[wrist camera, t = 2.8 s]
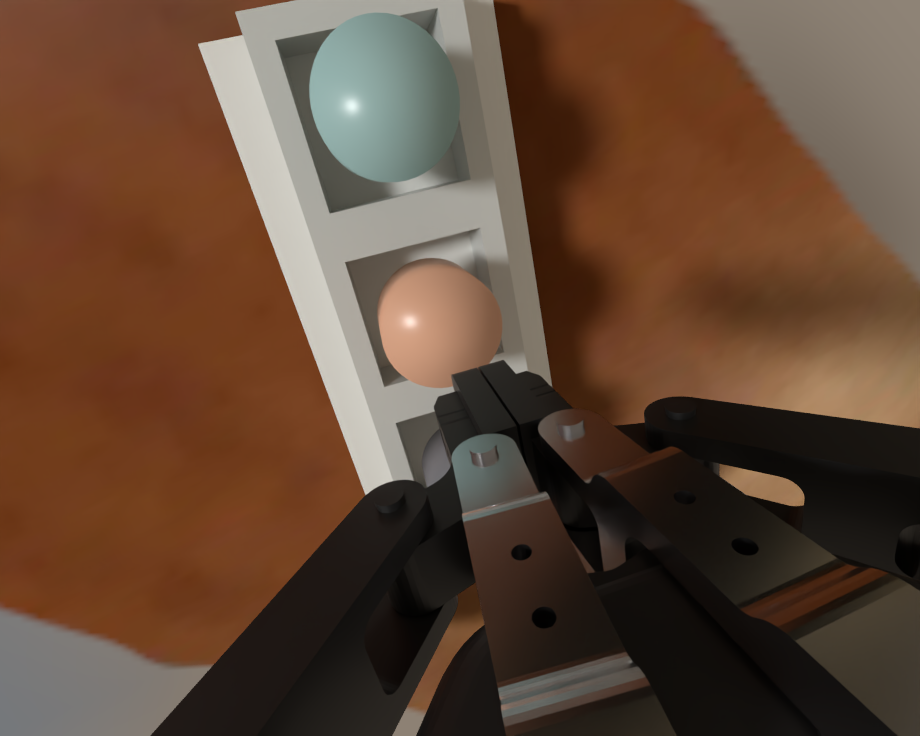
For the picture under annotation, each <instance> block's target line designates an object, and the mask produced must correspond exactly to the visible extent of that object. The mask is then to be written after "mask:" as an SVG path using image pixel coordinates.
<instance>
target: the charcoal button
mask: <svg viewBox="0 0 920 736" xmlns="http://www.w3.org/2000/svg"><path fill="white" fill-rule="evenodd" d="M449 468H450V463H449V460H448V458H447V455H446V451H445V448H444V444H443V440H442V436H441V433H440V429H438V430H437V431H436V432H435V433H434V434H433V435H432V436H431V438H430V439H429V441H428V442H427V444H426V446H425V449H424V451H423V456H422V469H423V473H424V477H425V481H426V485H427V487H429V486H430V485H432V484H434V483H435V482H437V481H438V480H440V479H441V478H442V477H443V476H444V475H445V474H446V473H447V471H448V470H449Z"/></svg>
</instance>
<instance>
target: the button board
mask: <svg viewBox="0 0 920 736" xmlns="http://www.w3.org/2000/svg"><path fill="white" fill-rule="evenodd" d="M375 12H377V13H389V14H394V15H398V16H401V17H404V18H406V19H408V20H410V21H412V22H414V23H416V24H417V25H419V26H420V27H422V28H423V29H425V30H426V31H427V32H428V33H429V34H430V35H431V36H432V37H433V38H434V39H435V40H436V41H437V42H438V44H439V45H440V46H441V48H442V49H443V51H444V52H445V54H446V55H447V57H448V59H449V61H450V63H451V65H452V67H453V70H454V73H455V76H456V79H457V83H458V88H459V96H460V113H459V121H458V126H457V130H456V133H455V136H454V139H453V141H452V143H451V145H450V147H449V148H448V150H447V152H446V153H445V155H444V156H443V157H442V158H441V159H440V161H439V162H438V163H437V164H436V165H435V166H433V167H432V168H431V169H430V170H428V171H427V172H425V173H424V174H422V175H420V176H418V177H416V178H413V179H410V180H407V181H401V182H375V181H371V180H367V179H364V178H362V177H359V176H357V175H356V174H354V173H352V172H351V171H349V170H348V169H347V168H345V167H344V166H343V165H342V164H341V163H340V162H339V161H338V160H337V159H336V158H335V157H334V156H333V154H332V153H331V152H330V150H329V148H328V147H327V145H326V144H325V142H324V141H323V139H322V137H321V135H320V133H319V131H318V129H317V126H316V124H315V121H314V118H313V114H312V110H311V104H310V90H309V84H310V76H311V71H312V67H313V63H314V60H315V58H316V55H317V53H318V51H319V49H320V47H321V45H322V44H323V42H324V41H325V39H326V38H327V37H328V36H329V34H330V33H331V32H332V31H334V30H335V29H336V28H337V27H338V26H339V25H341V24H342V23H344V22H345V21H347V20H349V19H351V18H353V17H355V16H359V15H362V14H367V13H375ZM235 13H236V16H237V19H238V22H239V25H240V28H241V31H242V34H243V35H241V36H236V37H231V38H226V39H221V40H216V41H211V42H206V43H201V44H198V45H199V48H200V51H201V53H202V56H203V59H204V61H205V64H206V67H207V69H208V72H209V75H210V78H211V80H212V83H213V86H214V88H215V91H216V94H217V96H218V99H219V102H220V104H221V107H222V110H223V112H224V115H225V118H226V121H227V123H228V126H229V129H230V131H231V134H232V137H233V139H234V142H235V145H236V147H237V150H238V153H239V156H240V158H241V161H242V164H243V166H244V169H245V172H246V174H247V177H248V180H249V182H250V185H251V188H252V191H253V193H254V196H255V199H256V201H257V204H258V207H259V209H260V212H261V215H262V217H263V220H264V223H265V225H266V228H267V231H268V234H269V236H270V239H271V242H272V244H273V247H274V250H275V252H276V255H277V258H278V260H279V263H280V266H281V269H282V271H283V274H284V277H285V279H286V282H287V285H288V287H289V290H290V293H291V295H292V298H293V301H294V304H295V306H296V309H297V312H298V314H299V317H300V320H301V322H302V325H303V328H304V330H305V333H306V336H307V338H308V341H309V344H310V347H311V349H312V352H313V355H314V357H315V360H316V363H317V365H318V368H319V371H320V373H321V376H322V379H323V382H324V384H325V387H326V390H327V392H328V395H329V398H330V400H331V403H332V406H333V408H334V411H335V414H336V417H337V419H338V422H339V425H340V427H341V430H342V433H343V435H344V438H345V441H346V443H347V446H348V449H349V451H350V454H351V457H352V460H353V462H354V465H355V468H356V470H357V473H358V476H359V478H360V481H361V484H362V486H363V489H364V492H365V495H366V494H368V493H369V492H370V491H372V490H373V489H375V488H376V487H378V486H380V485H383V484H385V483H388V482H391V481H396V480H412V481H416V482H418V483H420V484H421V485H423V487H424V488H427V485H426V481H425V477H424V473H423V469H422V456H423V451H424V449H425V446H426V444H427V442H428V441H429V439H430V438H431V436H432V435H433V434H434V433H435V432H436V431H437V430H438V429H439V425H438V422H437V418H436V414H435V410H434V405H435V403H436V400H437V398H438V396H442V395H445V394H449V393H452V392H454V388H453V386H452V387H446V388H431V387H425V386H422V385H418V384H416V383H414V382H412V381H410V380H408V379H406V378H405V377H404V376H402V375H401V374H400V373H399V372H398V371H397V370H396V369H395V368H394V367H393V365H392V364H391V363H390V361H389V359H388V358H387V356H386V353H385V351H384V348H383V344H382V339H381V334H380V329H379V324H378V318H377V305H378V300H379V296H380V293H381V291H382V289H383V287H384V285H385V283H386V282H387V280H388V279H389V278H390V277H391V276H392V274H394V273H395V272H396V271H397V270H398V269H399V268H401V267H402V266H404V265H406V264H408V263H410V262H412V261H415V260H418V259H424V258H440V259H445V260H448V261H451V262H454V263H456V264H457V265H459V266H461V267H462V268H464V269H465V270H466V271H468V272H469V273H470V274H472V275H473V276H474V277H476V278H477V279H478V280H479V281H481V282H482V283H483V284H484V285H485V286H486V287H487V288H488V289H489V290H490V291H491V292H492V294H493V295H494V297H495V299H496V300H497V303H498V305H499V308H500V311H501V315H502V336H501V341H500V344H499V347H498V349H497V352H496V354H495V355H494V357H493V359H492V360H491V362H490V363H494V362H497V361H501V360H504V361H505V362H506V363H507V364H508V365H509V366H510V367H511V369H512V370H513V371H514V372H515V373H516V374H517V373H520V372H524V371H529V372H532V373H534V374H537V375H540V376H541V377H542V378H543V379H544V380H545V381H546V382H547V383H548V384H549V385H550V386H551V387H552V382H551V376H550V369H549V363H548V356H547V349H546V343H545V336H544V330H543V323H542V317H541V310H540V304H539V297H538V291H537V284H536V278H535V271H534V265H533V258H532V252H531V245H530V239H529V232H528V226H527V219H526V213H525V206H524V199H523V193H522V186H521V180H520V173H519V167H518V160H517V154H516V147H515V141H514V134H513V128H512V121H511V115H510V108H509V102H508V95H507V89H506V82H505V76H504V69H503V62H502V56H501V49H500V43H499V36H498V30H497V23H496V17H495V10H494V4H493V0H295V1H290V2H285V3H280V4H274V5H269V6H264V7H259V8H253V9H248V10H243V11H238V12H235ZM490 363H489V364H490Z"/></svg>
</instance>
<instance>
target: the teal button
mask: <svg viewBox="0 0 920 736" xmlns="http://www.w3.org/2000/svg"><path fill="white" fill-rule="evenodd" d="M309 90H310V104H311V110H312V114H313V118H314V121H315V124H316V126H317V129H318V131H319V133H320V135H321V137H322V139H323V141H324V142H325V144H326V145H327V147H328V148H329V150H330V152H331V153H332V154H333V156H334V157H335V158H336V159H337V160H338V161H339V162H340V163H341V164H342V165H343V166H344V167H345V168H347V169H348V170H349V171H351V172H352V173H354V174H356V175H357V176H359V177H362V178H364V179H367V180H371V181H375V182H401V181H407V180H410V179H413V178H416V177H418V176H420V175H422V174H424V173H425V172H427V171H428V170H430V169H431V168H432V167H433V166H435V165H436V164H437V163H438V162H439V161H440V159H441V158H442V157H443V156H444V155H445V153H446V152H447V150H448V148H449V147H450V145H451V143H452V141H453V139H454V136H455V133H456V130H457V126H458V121H459V113H460V96H459V88H458V83H457V79H456V76H455V73H454V70H453V67H452V65H451V63H450V61H449V59H448V57H447V55H446V54H445V52H444V51H443V49H442V48H441V46H440V45H439V44H438V42H437V41H436V40H435V39H434V38H433V37H432V36H431V35H430V34H429V33H428V32H427V31H426V30H425V29H423V28H422V27H420V26H419V25H417V24H416V23H414V22H412V21H410V20H408V19H406V18H404V17H401V16H398V15H394V14H389V13H377V12H375V13H367V14H362V15H359V16H355V17H353V18H351V19H349V20H347V21H345V22H344V23H342V24H341V25H339V26H338V27H337V28H336V29H335V30H334V31H332V32H331V33H330V34H329V36H328V37H327V38H326V39H325V41H324V42H323V44H322V45H321V47H320V49H319V51H318V53H317V55H316V58H315V60H314V63H313V67H312V71H311V76H310V84H309Z"/></svg>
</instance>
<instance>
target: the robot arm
mask: <svg viewBox="0 0 920 736" xmlns="http://www.w3.org/2000/svg"><path fill="white" fill-rule="evenodd" d="M451 378H452V383H453V388H454V392H452V393H449V394H445V395H442V396H438V398H437V400H436V403H435V405H434V410H435V414H436V418H437V422H438V425H439V429H440V433H441V436H442V440H443V444H444V448H445V451H446V455H447V458H448V460H449V463H450V468H449V470H448V471H447V473H446V474H445V475H444V476H443V477H442V478H441V479H440V480H438V481H437V482H435V483H434V484H432V485H430V486H429V487H427V488H424V487H423V485H421V484H420V483H418V482H416V481H412V480H396V481H391V482H388V483H385V484H383V485H380V486H378V487H376V488H375V489H373V490H372V491H370V492H369V493H368V494H366V495H365V496H364V497H363V498H362V500H361V501H360V502H359V503H358V504H357V505H356V506H355V507H354V509H353V510H352V511H351V512H350V513H349V514H348V515H347V516H346V517H345V519H344V520H343V521H342V522H341V523H340V524H339V525H338V526H337V528H336V529H335V530H334V531H333V532H332V533H331V534H330V535H329V537H328V538H327V539H326V540H325V541H324V542H323V543H322V544H321V545H320V547H319V548H318V549H317V550H316V551H315V552H314V553H313V554H312V556H311V557H310V558H309V559H308V560H307V561H306V562H305V563H304V564H303V566H302V567H301V568H300V569H299V570H298V571H297V572H296V573H295V575H294V576H293V577H292V578H291V579H290V580H289V581H288V582H287V584H286V585H285V586H284V587H283V588H282V589H281V590H280V591H279V592H278V594H277V595H276V596H275V597H274V598H273V599H272V600H271V601H270V603H269V604H268V605H267V606H266V607H265V608H264V609H263V610H262V611H261V613H260V614H259V615H258V616H257V617H256V618H255V619H254V620H253V622H252V623H251V624H250V625H249V626H248V627H247V628H246V629H245V631H244V632H243V633H242V634H241V635H240V636H239V637H238V638H237V639H236V641H235V642H234V643H233V644H232V645H231V646H230V647H229V648H228V650H227V651H226V652H225V653H224V654H223V655H222V656H221V657H220V658H219V660H218V661H217V662H216V663H215V664H214V665H213V666H212V667H211V669H210V670H209V671H208V672H207V673H206V674H205V675H204V676H203V678H202V679H201V680H200V681H199V682H198V683H197V684H196V685H195V686H194V688H193V689H192V690H191V691H190V692H189V693H188V694H187V696H186V697H185V698H184V699H183V700H182V701H181V702H180V703H179V705H177V707H176V708H175V709H174V710H173V711H172V712H171V713H170V714H169V716H168V717H167V718H166V719H165V720H164V721H163V722H162V723H161V725H160V726H159V727H158V728H157V729H156V730H155V731H154V732H153V733H152V735H151V736H392V734H393V733H394V731H395V729H396V727H397V725H398V723H399V721H400V719H401V717H402V715H403V713H404V711H405V709H406V707H407V705H408V703H409V702H410V700H411V698H412V696H413V694H414V692H415V690H416V688H417V686H418V684H419V682H420V680H421V678H422V676H423V674H424V672H425V670H426V668H427V666H428V664H429V662H430V661H431V659H432V657H433V655H434V653H435V651H436V649H437V647H438V645H439V643H440V641H441V639H442V637H443V635H444V633H445V631H446V629H447V627H448V625H449V623H450V621H451V620H452V618H453V616H454V614H455V611H456V609H457V605H458V596H457V595H458V594H459V593H461V592H462V591H464V590H465V589H466V588H468V587H469V586H471V585H472V584H474V583H475V582H476V586H477V591H478V595H479V600H480V605H481V610H482V615H483V619H484V624H485V625H484V626H482V627H481V628H480V629H479V630H477V631H476V632H475V633H474V634H473V635H472V636H471V637H470V638H469V639H468V640H467V641H466V642H465V643H464V644H463V646H462V647H461V648H460V650H459V651H458V652H457V654H456V655H455V656H454V658H453V659H452V661H451V663H450V664H449V666H448V668H447V669H446V671H445V673H444V674H443V676H442V679H441V681H440V683H439V685H438V687H437V689H436V692H435V694H434V696H433V698H432V701H431V703H430V705H429V708H428V710H427V712H426V715H425V717H424V719H423V721H422V724H421V726H420V729H419V731H418V733H417V735H416V736H920V429H919V428H912V427H905V426H898V425H890V424H883V423H876V422H868V421H861V420H854V419H846V418H839V417H832V416H825V415H817V414H810V413H803V412H795V411H788V410H781V409H774V408H766V407H759V406H752V405H744V404H737V403H730V402H722V401H715V400H708V399H701V398H693V397H668V398H663V399H660V400H657V401H655V402H653V403H651V404H650V405H648V406H647V408H646V409H645V412H644V419H645V423H638V424H629V425H618V426H613V425H612V424H610V423H609V422H608V421H606V420H605V419H604V418H603V417H601V416H600V415H599V414H597V413H595V412H593V411H590V410H585V409H573V408H572V407H571V406H570V405H569V404H568V403H567V402H566V401H565V400H564V399H563V398H562V397H561V396H560V395H559V394H558V393H557V392H555V390H554V389H553V388H552V387H551V386H550V385H549V384H548V383H547V382H546V381H545V380H544V379H543V378H542V377H541V376H540V375H537V374H534V373H532V372H529V371H524V372H520V373H517V374H516V373H515V372H514V371H513V370H512V369H511V367H510V366H509V365H508V364H507V363H506V362H505V361H504V360H501V361H497V362H494V363H490V364H487V365H483V366H480V367H478V369H477V368H473V369H469V370H466V371H462V372H459V373H455V374H452V375H451ZM719 464H724V465H728V466H733V467H738V468H742V469H747V470H752V471H756V472H761V473H766V474H770V475H775V476H780V477H783V478H786V479H789V480H791V481H792V482H794V483H795V484H797V485H798V486H799V487H800V488H801V490H802V491H803V493H804V496H805V501H804V505H803V506H788V505H784V504H780V503H776V502H772V501H768V500H764V499H760V498H756V497H752V496H748V495H745V494H744V493H743V492H741V491H740V490H738V489H737V488H735V487H734V486H732V485H731V484H730V483H728V482H727V481H725V480H724V479H722V478H721V477H719Z"/></svg>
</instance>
